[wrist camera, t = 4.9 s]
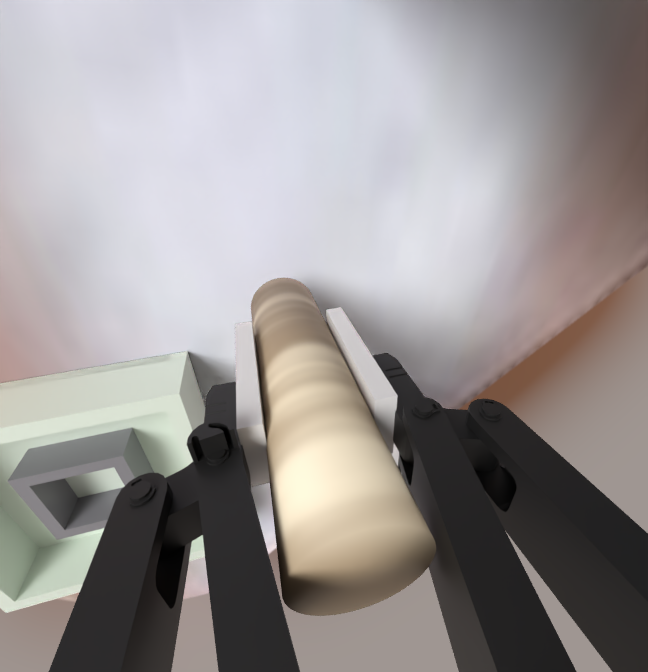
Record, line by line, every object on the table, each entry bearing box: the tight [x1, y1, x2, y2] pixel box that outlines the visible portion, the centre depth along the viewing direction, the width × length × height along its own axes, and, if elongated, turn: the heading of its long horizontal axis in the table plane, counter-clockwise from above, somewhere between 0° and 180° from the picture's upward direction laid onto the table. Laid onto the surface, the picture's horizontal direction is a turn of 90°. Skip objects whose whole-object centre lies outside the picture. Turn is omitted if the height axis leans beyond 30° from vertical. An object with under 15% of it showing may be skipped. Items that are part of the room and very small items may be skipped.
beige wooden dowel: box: [251, 278, 436, 616], centre depth 13 cm, size 4×4×14 cm
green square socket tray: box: [0, 351, 205, 613], centre depth 23 cm, size 16×16×4 cm
